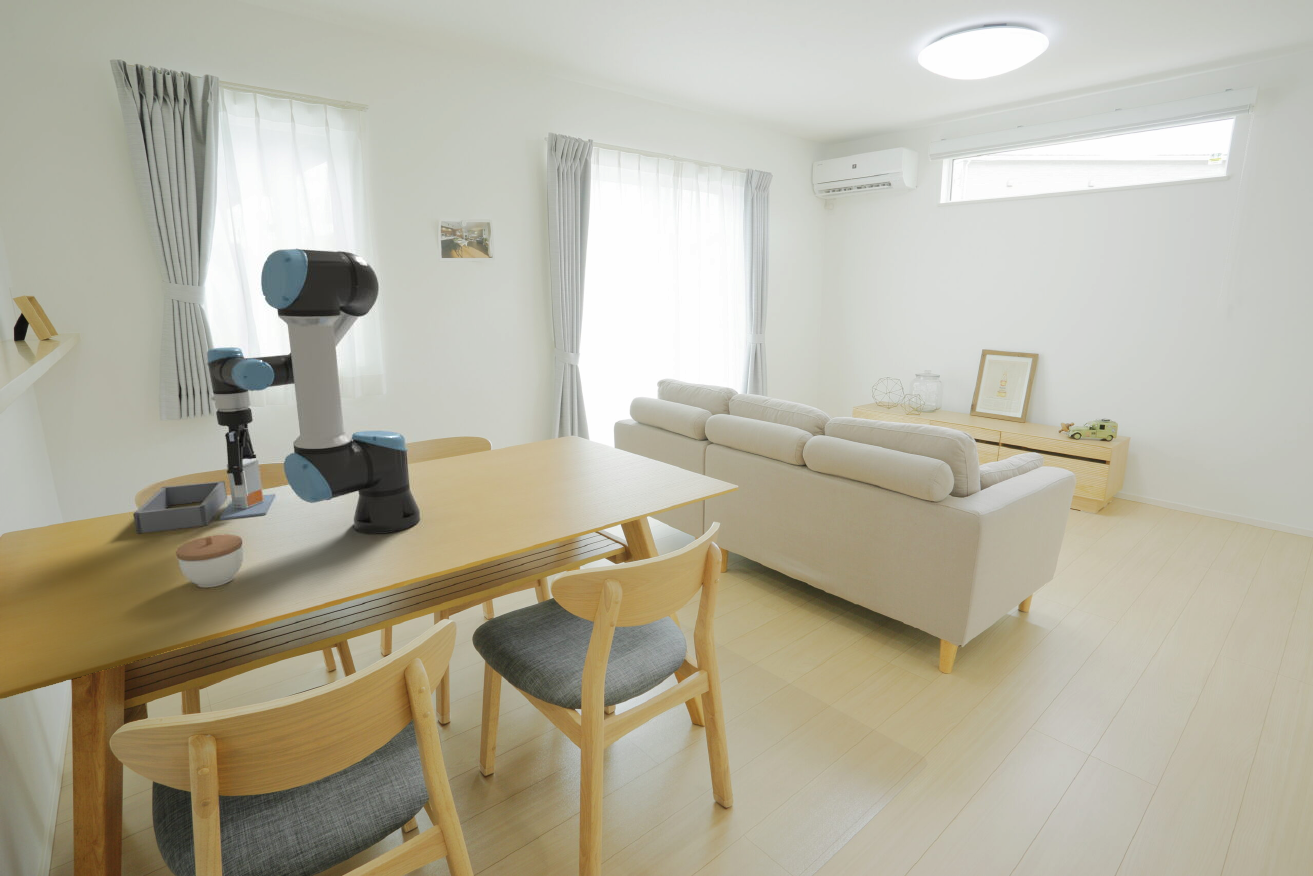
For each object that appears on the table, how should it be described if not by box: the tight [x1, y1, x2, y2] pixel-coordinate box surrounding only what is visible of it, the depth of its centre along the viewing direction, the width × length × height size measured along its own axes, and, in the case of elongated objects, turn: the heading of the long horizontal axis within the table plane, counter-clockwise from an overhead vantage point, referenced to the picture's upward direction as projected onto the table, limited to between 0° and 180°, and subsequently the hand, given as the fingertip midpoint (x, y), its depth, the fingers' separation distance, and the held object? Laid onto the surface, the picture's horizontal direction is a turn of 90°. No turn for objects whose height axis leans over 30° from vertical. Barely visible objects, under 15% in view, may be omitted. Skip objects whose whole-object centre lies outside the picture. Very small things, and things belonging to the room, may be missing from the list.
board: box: [219, 493, 276, 521], centre depth 167 cm, size 16×10×1 cm, turn 23°
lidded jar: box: [175, 534, 244, 589], centre depth 125 cm, size 11×11×9 cm
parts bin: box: [133, 480, 228, 535], centre depth 161 cm, size 22×14×5 cm, turn 23°
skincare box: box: [226, 458, 264, 509], centre depth 166 cm, size 6×4×12 cm
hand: (246, 489), depth 166 cm, fingers open, 11 cm apart
